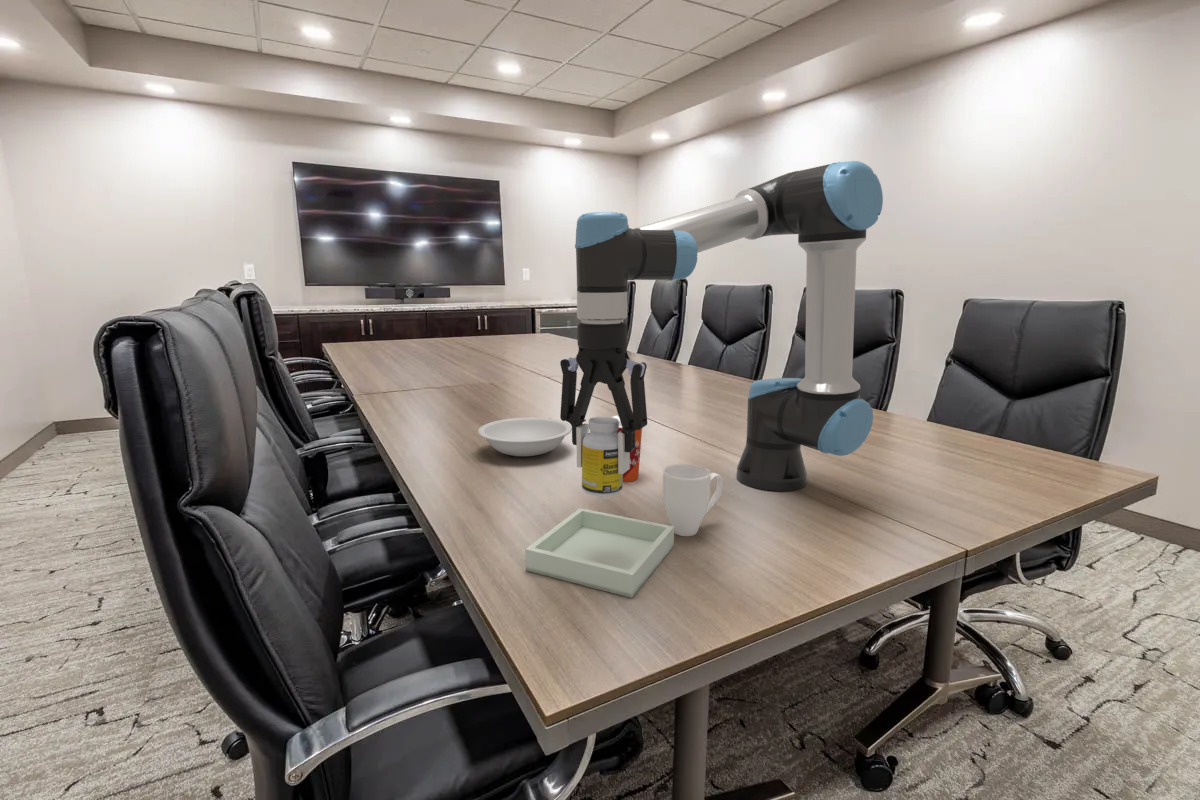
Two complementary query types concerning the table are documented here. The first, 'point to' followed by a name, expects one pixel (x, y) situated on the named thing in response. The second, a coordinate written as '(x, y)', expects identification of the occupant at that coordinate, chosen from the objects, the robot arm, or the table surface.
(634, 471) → the paper cup
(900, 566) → the table surface
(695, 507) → the mug
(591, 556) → the tray
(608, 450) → the pill bottle
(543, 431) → the soup bowl
